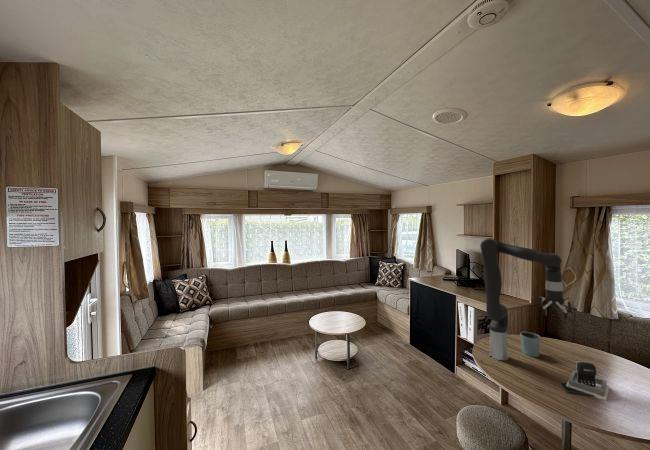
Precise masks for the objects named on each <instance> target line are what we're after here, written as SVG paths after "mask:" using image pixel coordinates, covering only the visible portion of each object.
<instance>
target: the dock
mask: <svg viewBox="0 0 650 450" xmlns="http://www.w3.org/2000/svg"><path fill="white" fill-rule="evenodd" d="M566 383H567V385H566V386H567V387H570V388H573V389H576V390H579V391H582V392H585V393H588V394H591V395H594V396H595V397H594V398H597V399H599V400H602V401H605V402H606V401H607V400H608V395H609V390H610V385H609V384H607V380H606V379H602V378H599V377H596V376H595V383H596V386H595V387H592V386H588V385H585V384H582V383H579V382H577V371H576V370H572V372H571V374H570V376H569V379H568V381H567V382H566Z"/></svg>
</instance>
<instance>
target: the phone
mask: <svg viewBox="0 0 650 450" xmlns="http://www.w3.org/2000/svg"><path fill="white" fill-rule="evenodd" d="M567 383H568V382H559V385H560V387H561V388H562V389H563V391H564V392H565V393H568V394H571V395H577V394H578V396H584V395H585V396H586V397H591V398H592V397H593V398H596V397H595V396H594V395H591V394H588V393H585V392H582V391H579V390H576V389H573V388H570V387H567V386H566V385H567Z"/></svg>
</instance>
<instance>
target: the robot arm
mask: <svg viewBox="0 0 650 450" xmlns="http://www.w3.org/2000/svg"><path fill="white" fill-rule="evenodd" d="M479 247H480V251H481V255H482V259H483V260H482V261H483V278H484V279H483V281H484V287H485V295H486V315H487V317H488V318H489V319H490V320H491V321H490V323H489V327H488V328H489V341H488V348H489V357H491V356H492V357H491V358H493V359H494V360H498V361H508V360H509V346H508V345H509V344H508V343H509V342H508V326H509V313H508V309H507V307H506V306H505V305H504V304H501V303H500V302H501V301H500V296H501V292H502V287H503V283H502V282H503V281H502V274H501V270H500V266H499V263H498V253H501V254H504V255H507V256H508V255H510V256H512V257H514V258H517V259H520V260H525V261H530V262H534V263H538V264H540V265H544V266H545V284H544V285H545V297H543V296H539V297H538V307H539V308H541V309H542V314H543V315H544V316H546V317H547V316H548V309H547V308H548V307H549V306H550V307H554V308H560V309H561V310H562V312H563V319H564V320H568V318H569V314H570V313H573V304H572V300H565V299H564V285H563V275H562V272H561V264H562V258H561V257H560V256H559V254H557V253H554V252H553V253H552V252H550V253H547V252H542V251H540V250H537V249H532V248H527V247H522V246H519V245H513V244H509V243H505V242H502V241H499V240H496V239H494V238H492V237H490V238H489V237H488V238H485V239H483V240H482V241H481V242H480V246H479ZM544 301H545V302H546V304H545V305H543V303H544ZM564 304H566V305H567V308H568V309H567V308H566V306H565V305H564Z"/></svg>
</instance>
